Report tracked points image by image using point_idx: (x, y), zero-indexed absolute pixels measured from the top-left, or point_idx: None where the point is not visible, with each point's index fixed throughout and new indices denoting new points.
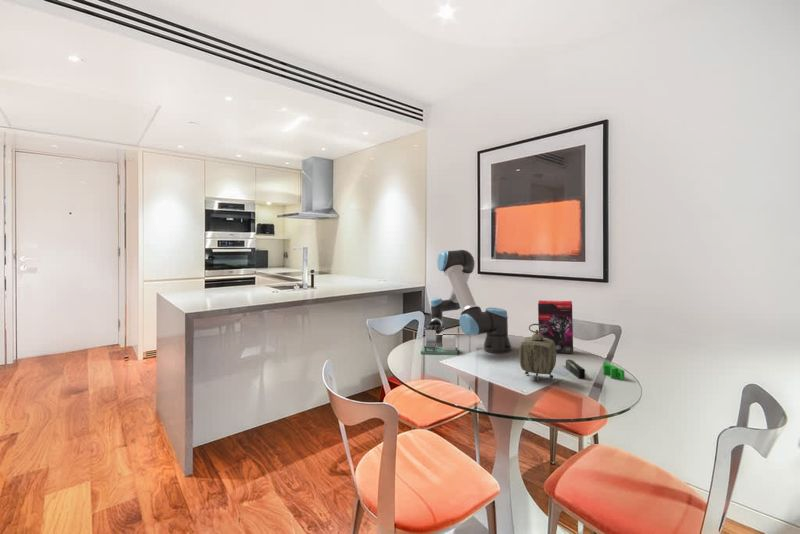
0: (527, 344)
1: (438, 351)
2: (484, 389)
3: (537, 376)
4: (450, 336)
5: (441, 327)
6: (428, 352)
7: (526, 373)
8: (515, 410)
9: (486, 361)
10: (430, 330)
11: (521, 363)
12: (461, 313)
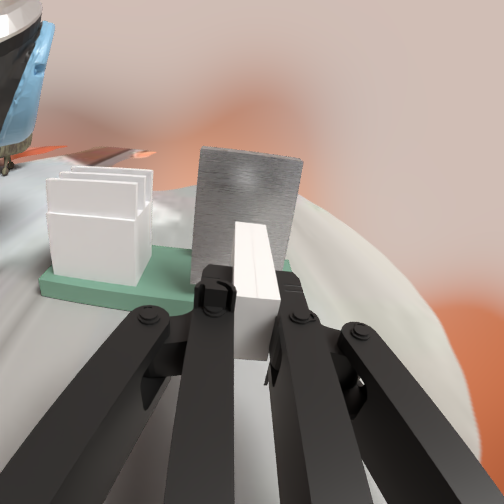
0: None
1: (179, 248)
2: (113, 160)
3: (9, 160)
4: (90, 174)
5: (15, 467)
6: None
7: (8, 170)
8: (101, 147)
9: (20, 207)
10: (249, 151)
11: (31, 133)
12: (40, 15)
